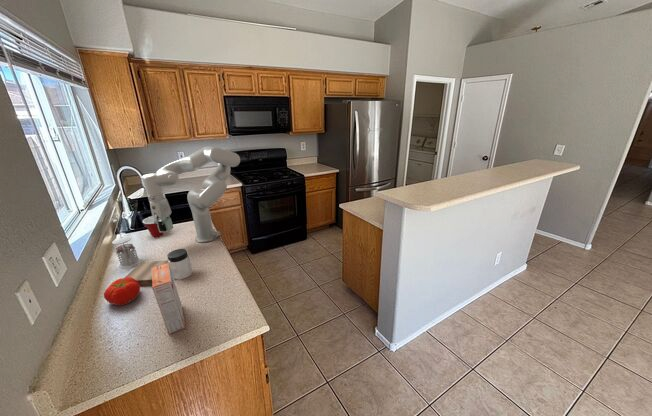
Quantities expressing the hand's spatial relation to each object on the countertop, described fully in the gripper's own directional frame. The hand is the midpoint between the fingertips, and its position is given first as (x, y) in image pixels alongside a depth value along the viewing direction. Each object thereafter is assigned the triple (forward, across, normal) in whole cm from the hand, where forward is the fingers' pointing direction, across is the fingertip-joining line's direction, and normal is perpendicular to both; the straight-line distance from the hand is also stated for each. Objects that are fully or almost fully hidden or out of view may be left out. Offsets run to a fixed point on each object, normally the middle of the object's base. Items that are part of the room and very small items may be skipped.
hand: (166, 228), depth 142 cm
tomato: (+14, -40, +2) cm, 42 cm away
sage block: (+1, 0, 0) cm, 1 cm away
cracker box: (+14, -54, -26) cm, 61 cm away
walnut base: (+14, -22, 0) cm, 27 cm away
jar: (+15, -24, -16) cm, 32 cm away
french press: (+15, -10, +17) cm, 25 cm away
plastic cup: (+15, +22, +20) cm, 33 cm away
